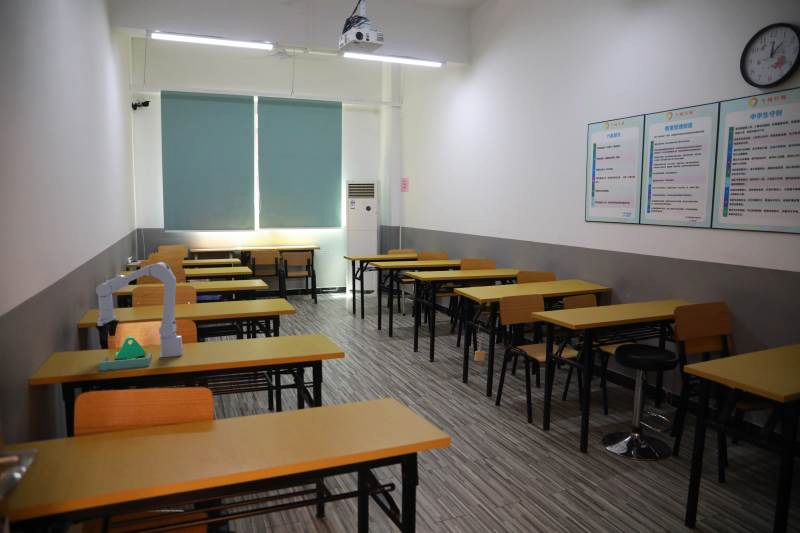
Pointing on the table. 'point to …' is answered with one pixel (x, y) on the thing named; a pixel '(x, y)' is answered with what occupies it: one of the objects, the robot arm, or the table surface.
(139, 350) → the camera mount
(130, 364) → the dock
